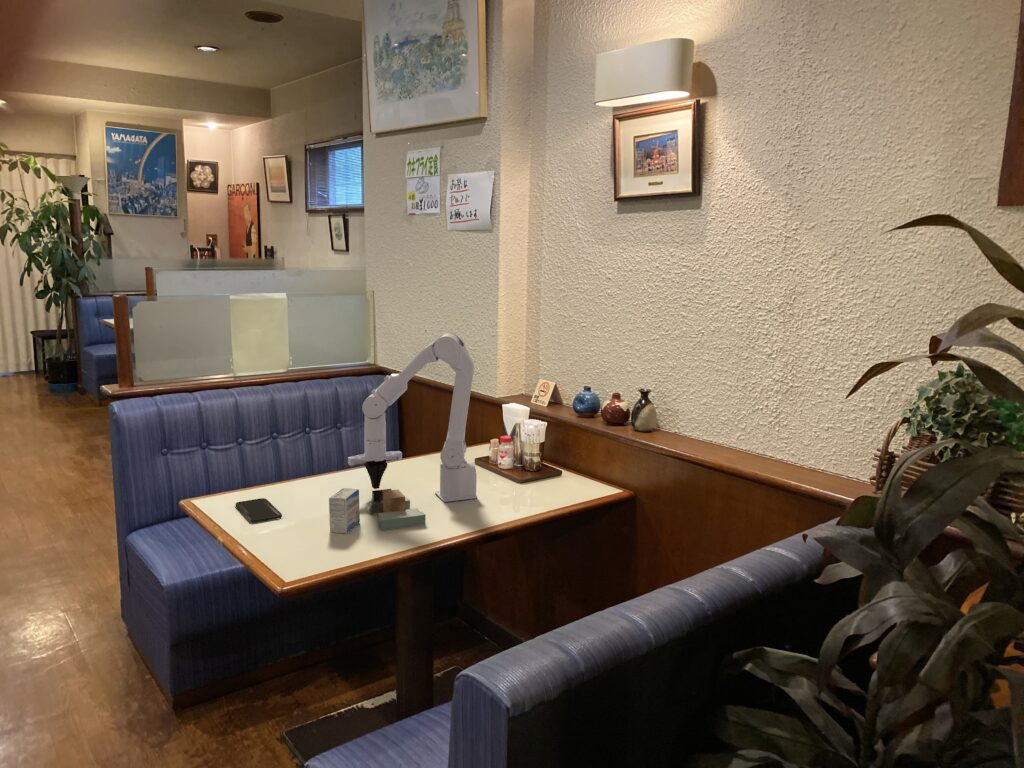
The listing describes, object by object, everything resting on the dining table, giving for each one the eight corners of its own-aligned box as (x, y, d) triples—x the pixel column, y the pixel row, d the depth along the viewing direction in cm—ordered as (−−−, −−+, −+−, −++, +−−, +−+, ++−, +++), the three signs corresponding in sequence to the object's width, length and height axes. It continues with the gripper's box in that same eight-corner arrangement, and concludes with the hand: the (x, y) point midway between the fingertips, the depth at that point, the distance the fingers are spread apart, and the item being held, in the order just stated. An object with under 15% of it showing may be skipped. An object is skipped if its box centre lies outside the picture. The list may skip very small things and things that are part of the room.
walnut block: (398, 511, 195) (398, 489, 194) (405, 519, 190) (405, 496, 189) (383, 513, 194) (382, 491, 192) (389, 521, 188) (389, 498, 187)
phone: (265, 497, 201) (283, 515, 189) (265, 501, 201) (283, 519, 189) (234, 502, 197) (250, 520, 184) (234, 506, 197) (250, 525, 185)
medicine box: (347, 534, 179) (346, 499, 178) (329, 532, 180) (328, 497, 179) (360, 522, 187) (359, 488, 185) (343, 521, 188) (342, 487, 186)
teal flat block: (419, 517, 191) (419, 508, 191) (425, 524, 187) (425, 514, 186) (375, 523, 187) (375, 513, 186) (381, 530, 182) (381, 520, 182)
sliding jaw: (399, 498, 204) (399, 487, 204) (410, 509, 196) (410, 498, 196) (362, 503, 200) (362, 491, 200) (371, 514, 192) (371, 502, 192)
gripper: (353, 445, 198) (354, 495, 200) (406, 439, 205) (406, 488, 207) (345, 439, 204) (345, 488, 206) (396, 433, 211) (396, 480, 214)
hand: (375, 487), depth 207 cm, fingers closed
